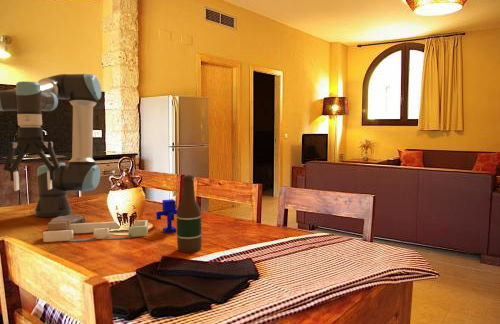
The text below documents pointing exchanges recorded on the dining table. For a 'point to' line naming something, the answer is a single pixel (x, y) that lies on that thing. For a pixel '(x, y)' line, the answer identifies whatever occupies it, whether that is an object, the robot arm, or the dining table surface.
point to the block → (59, 225)
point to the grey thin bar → (94, 239)
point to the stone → (72, 219)
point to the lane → (95, 230)
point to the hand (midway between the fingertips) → (33, 189)
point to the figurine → (168, 214)
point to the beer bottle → (188, 219)
